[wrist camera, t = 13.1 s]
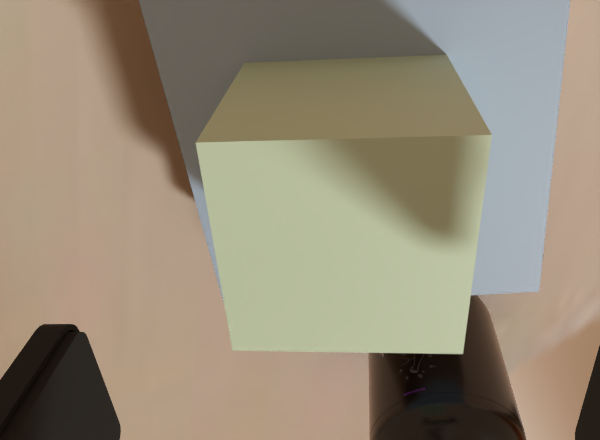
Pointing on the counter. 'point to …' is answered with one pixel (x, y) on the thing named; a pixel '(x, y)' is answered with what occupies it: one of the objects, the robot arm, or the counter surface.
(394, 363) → the supplement bottle
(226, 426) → the counter surface
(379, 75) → the sage block
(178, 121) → the slate top block
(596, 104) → the counter surface
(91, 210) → the counter surface
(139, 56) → the counter surface
